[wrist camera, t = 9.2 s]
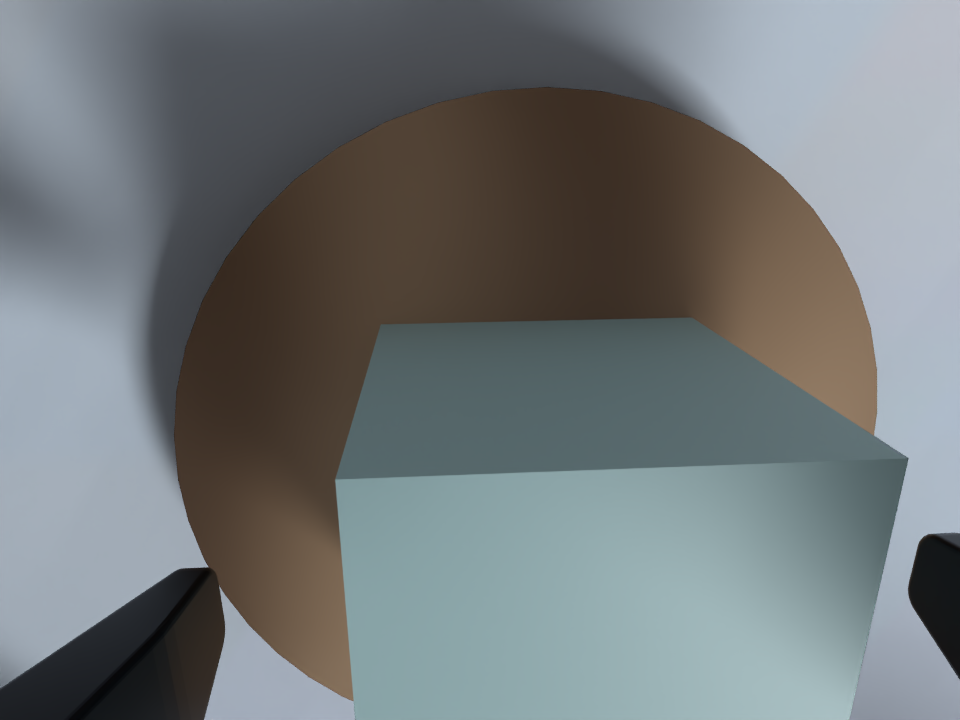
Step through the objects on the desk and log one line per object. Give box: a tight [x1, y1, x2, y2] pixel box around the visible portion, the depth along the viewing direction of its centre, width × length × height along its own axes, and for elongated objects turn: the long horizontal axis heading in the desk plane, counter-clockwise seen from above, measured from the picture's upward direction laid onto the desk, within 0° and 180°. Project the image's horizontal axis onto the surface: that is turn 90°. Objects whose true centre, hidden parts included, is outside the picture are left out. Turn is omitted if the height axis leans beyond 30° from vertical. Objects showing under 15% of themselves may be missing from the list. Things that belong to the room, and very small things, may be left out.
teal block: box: [335, 318, 908, 720], centre depth 9 cm, size 5×5×5 cm
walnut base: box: [174, 87, 877, 701], centre depth 12 cm, size 12×12×2 cm
